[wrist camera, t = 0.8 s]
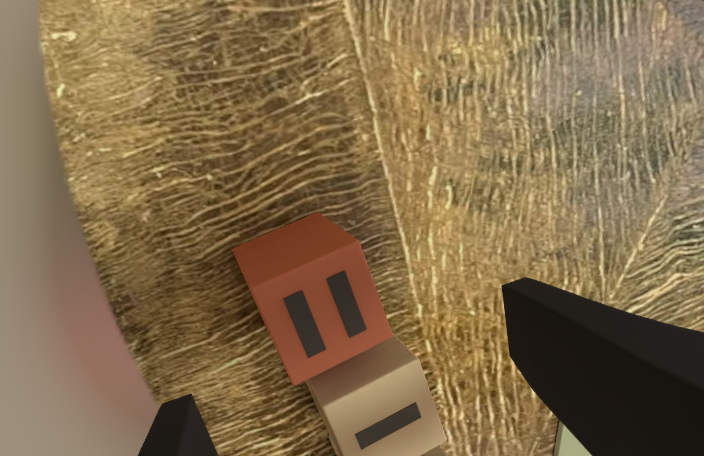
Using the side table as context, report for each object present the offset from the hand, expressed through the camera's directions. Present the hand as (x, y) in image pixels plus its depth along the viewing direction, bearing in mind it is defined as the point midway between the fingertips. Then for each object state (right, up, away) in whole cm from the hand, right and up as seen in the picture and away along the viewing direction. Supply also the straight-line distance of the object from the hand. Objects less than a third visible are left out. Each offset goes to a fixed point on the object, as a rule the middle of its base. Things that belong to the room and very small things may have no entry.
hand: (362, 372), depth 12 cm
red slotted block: (-3, +1, +12) cm, 13 cm away
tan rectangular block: (-1, -3, +14) cm, 14 cm away
